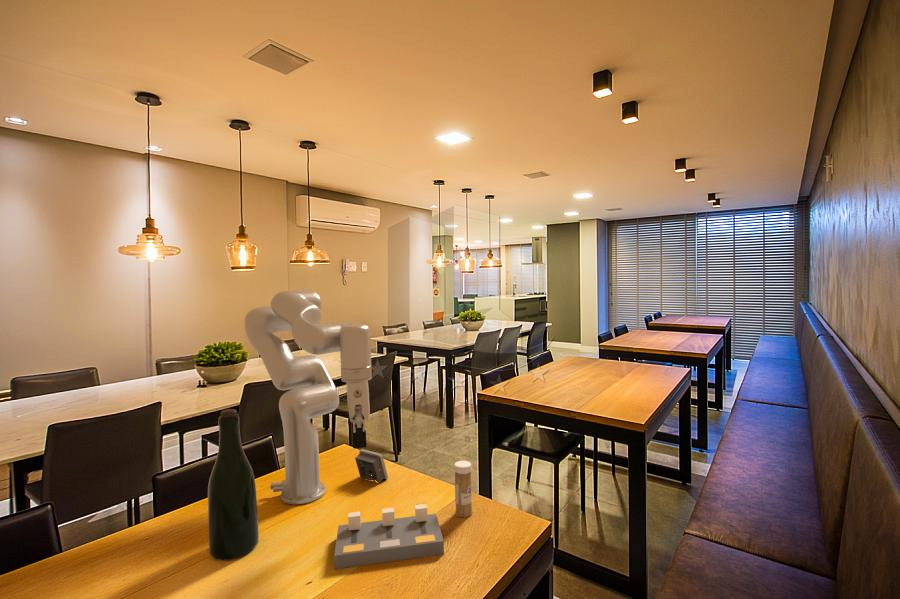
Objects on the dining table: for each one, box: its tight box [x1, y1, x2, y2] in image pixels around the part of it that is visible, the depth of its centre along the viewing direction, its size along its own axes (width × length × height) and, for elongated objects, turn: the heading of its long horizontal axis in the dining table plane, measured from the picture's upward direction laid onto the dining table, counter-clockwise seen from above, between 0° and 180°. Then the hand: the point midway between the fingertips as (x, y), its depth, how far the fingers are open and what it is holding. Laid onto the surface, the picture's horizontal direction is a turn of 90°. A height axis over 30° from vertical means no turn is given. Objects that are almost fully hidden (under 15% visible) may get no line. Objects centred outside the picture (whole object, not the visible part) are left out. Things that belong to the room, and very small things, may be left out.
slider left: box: [347, 511, 362, 530], centre depth 104 cm, size 3×2×3 cm
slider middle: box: [381, 507, 395, 526], centre depth 105 cm, size 3×2×3 cm
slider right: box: [414, 503, 428, 522], centre depth 106 cm, size 3×2×3 cm
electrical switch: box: [354, 448, 389, 484], centre depth 136 cm, size 9×5×9 cm, turn 57°
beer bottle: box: [207, 408, 260, 561], centre depth 102 cm, size 10×10×33 cm
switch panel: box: [333, 513, 445, 570], centre depth 102 cm, size 24×12×3 cm, turn 100°
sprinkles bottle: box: [453, 460, 473, 518], centre depth 115 cm, size 5×5×14 cm
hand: (359, 440), depth 110 cm, fingers open, 9 cm apart
